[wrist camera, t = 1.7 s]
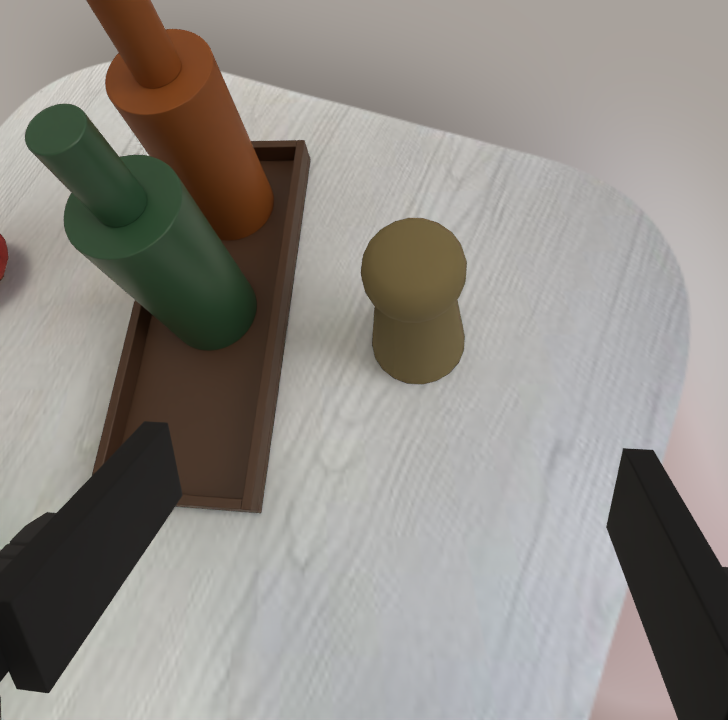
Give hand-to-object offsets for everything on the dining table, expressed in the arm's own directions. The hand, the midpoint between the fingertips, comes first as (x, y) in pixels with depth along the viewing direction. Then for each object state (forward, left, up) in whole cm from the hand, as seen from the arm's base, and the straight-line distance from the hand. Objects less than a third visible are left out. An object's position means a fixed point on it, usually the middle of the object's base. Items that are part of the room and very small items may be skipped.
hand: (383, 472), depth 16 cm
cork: (0, -11, -17) cm, 21 cm away
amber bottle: (+14, -21, -17) cm, 30 cm away
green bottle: (+14, -13, -17) cm, 25 cm away
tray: (+14, -13, -17) cm, 25 cm away
